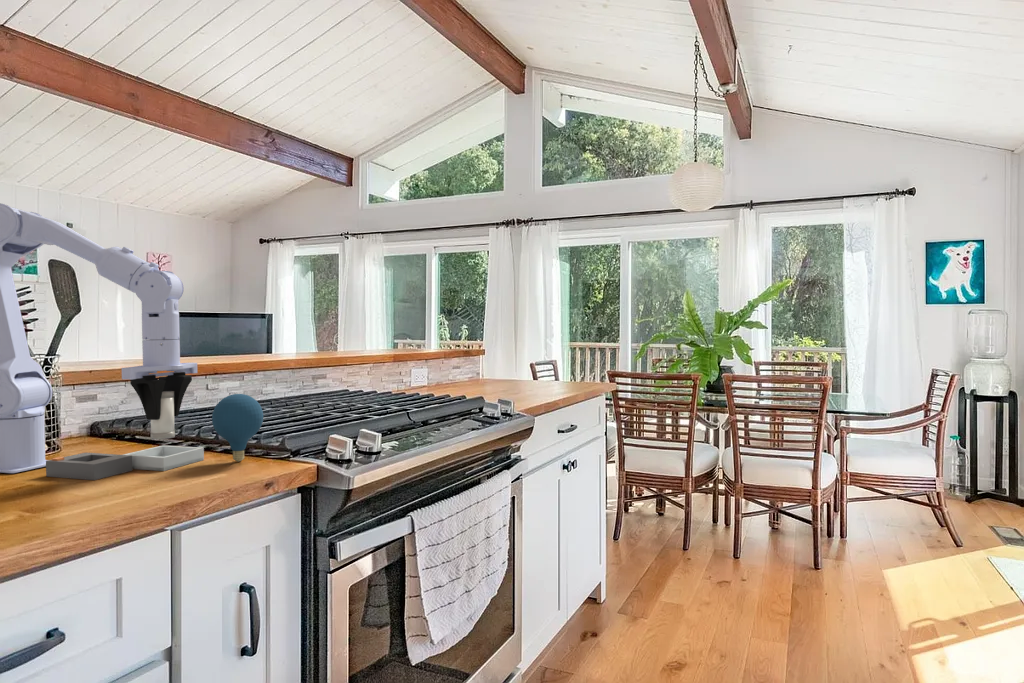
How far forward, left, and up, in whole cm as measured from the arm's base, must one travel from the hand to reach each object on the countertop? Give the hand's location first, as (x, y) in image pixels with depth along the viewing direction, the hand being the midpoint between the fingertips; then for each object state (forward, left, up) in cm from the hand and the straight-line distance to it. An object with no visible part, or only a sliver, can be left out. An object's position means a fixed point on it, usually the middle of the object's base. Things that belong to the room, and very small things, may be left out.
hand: (162, 417), depth 112 cm
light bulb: (+11, +5, -8) cm, 15 cm away
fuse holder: (-6, -9, -8) cm, 13 cm away
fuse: (0, 0, -3) cm, 3 cm away
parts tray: (0, 0, -8) cm, 8 cm away
